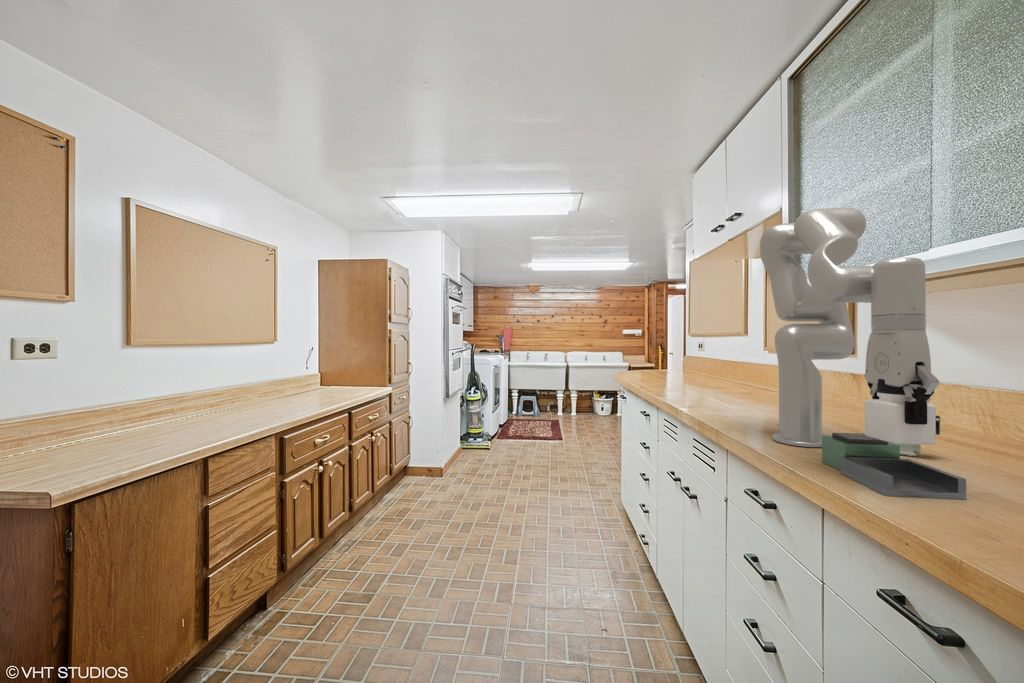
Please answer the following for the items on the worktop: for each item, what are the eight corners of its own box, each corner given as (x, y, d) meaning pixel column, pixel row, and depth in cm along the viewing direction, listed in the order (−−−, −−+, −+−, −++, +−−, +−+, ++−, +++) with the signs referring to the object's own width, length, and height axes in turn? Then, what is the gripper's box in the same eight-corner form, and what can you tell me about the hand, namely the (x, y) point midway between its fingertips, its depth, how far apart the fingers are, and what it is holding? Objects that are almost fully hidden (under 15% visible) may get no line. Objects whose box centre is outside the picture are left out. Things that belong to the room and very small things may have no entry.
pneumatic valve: (874, 448, 106) (874, 400, 106) (940, 457, 98) (940, 405, 98) (870, 452, 102) (870, 402, 102) (939, 462, 94) (939, 408, 94)
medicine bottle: (937, 445, 75) (936, 377, 75) (894, 444, 75) (894, 377, 75) (902, 436, 82) (902, 374, 82) (863, 435, 82) (863, 374, 82)
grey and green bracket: (816, 461, 94) (816, 431, 94) (877, 464, 92) (877, 433, 92) (885, 495, 73) (885, 456, 73) (966, 499, 72) (966, 459, 72)
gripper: (845, 327, 88) (846, 412, 88) (912, 323, 71) (913, 428, 70) (885, 327, 87) (886, 413, 87) (963, 323, 70) (964, 430, 69)
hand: (898, 419), depth 79 cm, fingers closed on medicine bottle, 7 cm apart
